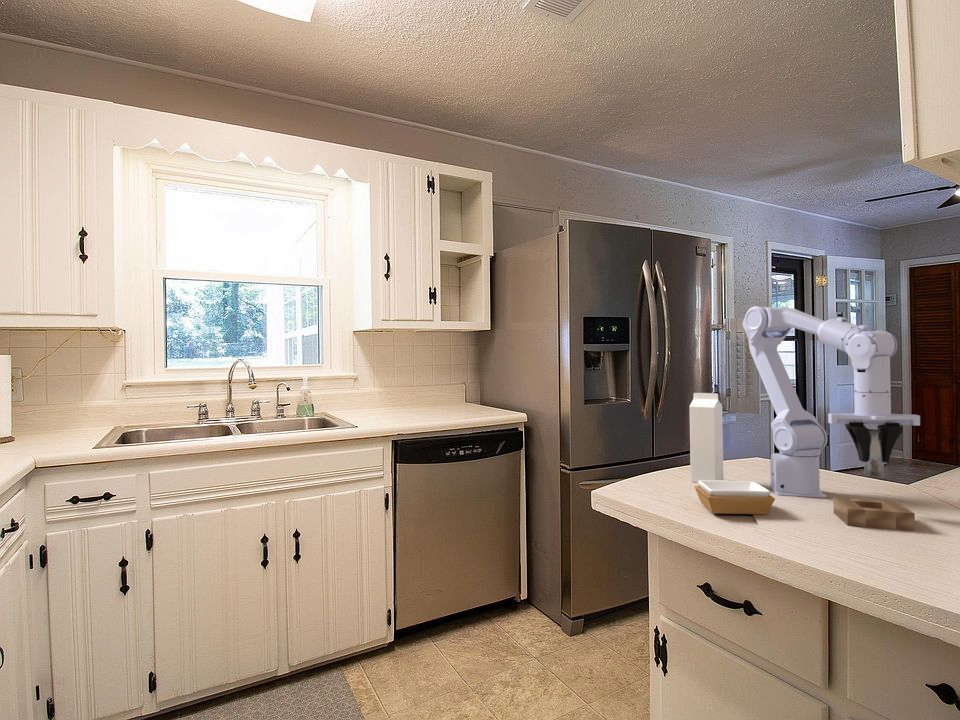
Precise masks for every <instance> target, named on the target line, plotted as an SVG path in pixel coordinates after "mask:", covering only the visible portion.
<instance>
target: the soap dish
mask: <svg viewBox="0 0 960 720" xmlns="http://www.w3.org/2000/svg"><path fill="white" fill-rule="evenodd" d="M694 488H695V489H694V490H695V491H696V494H697V496H698V499H699V502H701V503H700V504H702V505H704V507H705V508H706V509H708V510H709V511H710V513H712V514H713V515H717V514H725V515H727V514H731V515H732V514H733V515H735V514H736V515H762V516H764V515H765V516H766V515H768V513H769V511H770V510H771V508H772V506H773V503H774V502H775V499H776V498H775V497H774V496H772V495H771V491H770V490H769V489H767V488H766V487H764V486H762V485H761V484H759V483H757V482H755V481H747V480H724V479H723V480H700V481H699V482H698V485H694Z"/></svg>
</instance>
